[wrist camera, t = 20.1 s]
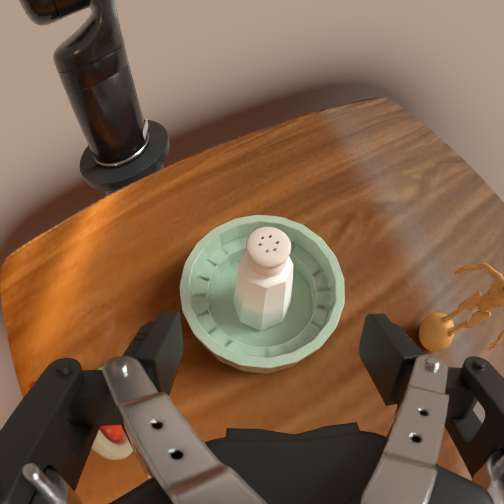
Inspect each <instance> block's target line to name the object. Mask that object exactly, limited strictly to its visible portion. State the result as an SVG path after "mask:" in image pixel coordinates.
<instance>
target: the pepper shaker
mask: <svg viewBox="0 0 504 504" xmlns="http://www.w3.org/2000/svg"><path fill="white" fill-rule="evenodd" d="M290 252H291V242H290V240H289V238H288V236H287V235H286V234H285V233H284V232H282V231H281V230H279V229H277V228H274V227H262V228H258V229H256V230H255V231H253V232H252V233H251V234H250V235H249V236H248V238H247V240H246V251H245V253H244V255H243V257H242V259H241V261H240V263H239V266H238V272H237V279H236V285H235V291H234V298H233V304H234V306H235V309H236V312H237V315H238V317H239V320H240V322H242V323H244V324H246V325H248V326H251V327H253V328H255V329H257V330H260V331H263V330H265V329H268V328H271V327H274V326H276V325H279V324H282V323H283V320H284V318H285V316H286V313H287V311H288V309H289V306H290V304H291V293H292V281H293V263H292V261H291V259H290V257H289V255H290Z"/></svg>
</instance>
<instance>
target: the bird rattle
mask: <svg viewBox="0 0 504 504" xmlns="http://www.w3.org/2000/svg"><path fill="white" fill-rule="evenodd" d="M97 370H102V367H100V368H98V369H97ZM35 382H36V381H34V382H32V383H31V384H30V389H31V387H32V386H33V385H34V384H35ZM92 449H93V450H94V451H95V452H96V453H98V454H99V455H101V456H102V457H104V458H107V459H110V460H119V459H123V458H126V457H128V456H129V455H130V454H131V453H132V451H133V449H132V447H131V445H130V443H129V441H128V439H127V437H126V435H125V433H124V431H123V429H122V427H121V425H111V426H100V429H99V431H98V433H97V436H96V438H95V441H94V443H93V445H92Z"/></svg>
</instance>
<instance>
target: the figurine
mask: <svg viewBox="0 0 504 504" xmlns="http://www.w3.org/2000/svg"><path fill="white" fill-rule="evenodd" d="M482 268H484V269H485V270H486V271H487V272H488V273H489V274H490V275H491V276H492V277H493V278H494V283H493V284H492V286H491V287H490V289H489V290H488V292H487V293H486V294H485V295H484V296H483V297H482V296H481V295H482V293H481V292H480V291H477V292H476V293H475V294H474V295H473V296H472V297H470V298H468V299H466V300H465V301H464V302H463V303H461V304H460V305H459V306H458V308H457V310H456V311H454V312H453V313H451V314H449V315H446V314H444V313H433V314H430V315H428V316H427V317H426V318H425V319H424V320H423V321H422V323H421V325H420V328H419V339H420V342H421V344H422V345H423V346H424V347H425V348H426V349H428V350H430V351H441V350H443V349H445V348H446V347H447V346H448V345H449V344H450V343H451V341H452V339H453V337H454V333H455V332H456V331H458V330H460V329H461V328H463V327H464V326H465V327H466V328H471V327H473V326H475V325H477V324H479V323H480V322H481V321H482V320H484V319H487V318H489V317H490V315H491V313H490V312H489V311H488V309H490V308H492V307H501V306H504V277H503V276H502V274H501V273H499V272H497V271H495V270H494V269H493V268H492V267H491V266H490V265H488V264H486V263H481V264H478V265H470V266H466V267H462V268H459V269H458V270H457V271H456V272H455V273H456V274H458V273H460V272H461V273H462V272H463V271H464V270H467V271H472V270H476V269H482ZM461 273H460V274H461ZM456 274H455V275H456ZM460 274H459V275H460ZM476 305H478V309H479V310H480V311H478V312H475V313H474V314H473V315H472V317H471V319H470V320H469V321H468V320H466V321H465V322H463V323H461V324H459V325H457V326H455V327H454V324H453V321H452V320H451V319H452V318H454V317H455V316H457V315H458V314H459V313H462V312H463V311H464V310H465V309H467V310H470V309H473V308H474V307H475V306H476ZM503 337H504V330H503V331H502V332H501V333H500V335H499V337H498V339H497V341H496V342H495V343H491V344H490V345H491V346H490V347H488V348H489V349H488V348H487V349H488V350H490V349H492V348H494V347H495V346H496V345H497V344H498V343H499V342H500V341H501V340H502V338H503Z"/></svg>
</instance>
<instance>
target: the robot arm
mask: <svg viewBox="0 0 504 504" xmlns="http://www.w3.org/2000/svg"><path fill="white" fill-rule="evenodd" d="M19 1H20V3H21V5H22V7H23V9H24V10H25V12H26V14H27V15H28V17H29V18H30V19H31V21H32V22H34V23H35V24H37V25H41V26H43V25H47V24H50V23H53V22H56V21H58V20H60V19H62V18H65V17H67V16H69V15H71V14H73V13H76V12H78V11H81V10H83V9H86V8H88V7H90V8H91V14H90V16H89V18H88V19H87V20H86V22H85V23H84V24H83V25H82V26H81V27H80V28H79V29H78V30H77V31H76V32H75V33H74V34H72V35H71V36H70V37H69V38H68V39H67V40H65V41H64V42H63V43H62V44H61V45H60V46H59V47H58V48H57V49H56V50H55V52H54V55H53V57H54V63H55V65H56V68H57V70H58V73H59V75H60V79H61V81H62V84H63V86H64V89H65V91H66V94H67V96H68V99H69V101H70V104H71V106H72V108H73V111H74V113H75V115H76V118H77V120H78V122H79V125H80V127H81V129H82V132H83V134H84V136H85V138H86V140H87V143H88V145H89V147H90V149H91V151H92V154H93V157H94V159H95V161H96V163H97V165H99V166H100V167H102V168H106V169H113V168H119V167H122V166H125V165H127V164H129V163H131V162H133V161H135V160H136V159H137V158H139V157H140V156H141V155H142V154H143V153H144V152H145V151H146V149H147V148H148V146H149V143H150V138H149V134H148V131H147V129H148V122H147V119H146V121H145V123H144V119H143V115H142V112H141V108H140V104H139V101H138V97H137V93H136V90H135V86H134V82H133V78H132V74H131V70H130V66H129V62H128V58H127V54H126V50H125V45H124V40H123V36H122V32H121V28H120V24H119V19H118V14H117V9H116V2H115V0H19ZM359 354H360V358H361V360H362V362H363V363H364V365H365V367H366V369H367V371H368V373H369V374H370V376H371V378H372V380H373V382H374V384H375V386H376V388H377V389H378V391H379V393H380V395H381V397H382V399H383V401H384V403H385V405H386V406H387V405H393V404H397V405H398V407H397V409H396V412H395V414H394V417H393V419H392V421H391V424H390V426H389V429H388V431H387V433H386V435H385V436H382V435H379V434H376V433H372V432H366V431H360V430H359V427H358V425H357V422H356V423H348V424H340V425H331V426H325V427H321V428H318V429H314V430H311V431H307V432H303V433H300V434H287V433H281V432H274V431H268V430H263V429H235V428H227V431H226V437H224V438H218V439H214V440H210V441H207V442H205V443H204V442H203V441H202V440H201V438H200V437H199V436H198V435H197V433H196V432H195V431H194V430H193V428H192V427H191V426H190V425H189V423H188V422H187V421H186V419H185V418H184V417H183V416H182V414H181V413H180V412H179V410H178V409H177V407H176V406H175V405H174V403H173V402H172V401H171V399H170V398H169V394H170V391H171V388H172V385H173V382H174V379H175V376H176V373H177V371H178V368H179V365H180V362H181V359H182V355H183V338H182V327H181V316H180V313H179V312H169V311H162V312H161V313H160V315H159V316H158V318H157V320H156V321H155V322H153V321H149V322H148V323H146V324H145V325H143V326H142V327H141V328H140V330H139V331H138V333H137V335H136V336H135V337H134V340H132V342H131V343H130V345H129V346H128V348H127V350H126V351H125V353H124V354H123V356H119V357H114V358H112V359H110V360H108V361H107V362H105V364H104V365H103V367H102V370H82V368H81V364H80V363H79V362H78V361H77V360H75V359H72V358H62V359H58V360H55V361H54V362H52V363H51V364H50V365H49V366H48V367H47V368H46V369H45V371H44V372H43V373H42V374H41V376H40V377H39V378H38V380H37V381H36V382H35V384H34V385H33V386H32V387H31V389H30V390H29V391H28V393H27V394H26V395H25V397H24V398H23V400H22V401H21V402H20V404H19V405H18V406H17V408H16V409H15V411H14V412H13V414H12V415H11V416H10V418H9V419H8V421H7V422H6V423H5V425H4V427H3V428H2V429H1V431H0V504H82V502H81V500H80V498H79V496H78V495H77V494H76V493H75V489H76V487H77V484H78V481H79V479H80V476H81V473H82V471H83V468H84V466H85V463H86V460H87V458H88V455H89V453H90V450H91V448H92V445H93V443H94V441H95V438H96V436H97V433H98V431H99V429H100V426H111V425H121V427H122V429H123V431H124V433H125V435H126V437H127V439H128V441H129V443H130V445H131V447H132V449H133V451H134V453H135V455H136V457H137V459H138V461H139V463H140V465H141V467H142V469H143V471H144V472H145V474H146V476H147V478H148V480H147V481H145V482H144V483H142V484H141V485H139V486H138V487H136V488H134V489H133V490H131V491H130V492H128V493H126V494H125V495H123V496H121V497H120V498H118V499H116V500H115V501H113V502H111V503H109V504H504V378H503V377H502V376H501V375H500V374H499V373H498V372H497V370H496V369H495V368H494V367H493V366H492V365H491V364H490V363H489V362H488V361H486V360H485V359H483V358H480V357H468V358H467V359H466V360H465V361H464V364H463V366H462V368H450V367H448V365H447V363H446V362H445V361H444V360H443V359H442V358H440V357H438V356H435V355H431V354H424V353H423V352H422V351H421V349H420V348H419V347H418V346H417V345H416V344H415V342H414V341H412V339H411V338H410V337H409V336H408V334H407V333H406V332H405V331H404V330H403V329H402V328H401V327H399V326H397V325H396V324H394V323H393V324H392V322H391V321H390V320H389V319H388V318H387V317H386V315H385V314H368V315H367V316H366V318H365V322H364V327H363V331H362V336H361V340H360V345H359ZM477 401H479V403H480V404H481V405H482V407H483V408H484V410H485V420H484V422H483V423H481V422H480V420H479V419H478V417H477V416H476V414H475V413H474V411H473V408H474V407H475V405H476V403H477ZM444 426H445V427H446V429H447V431H448V433H449V434H450V436H451V438H452V440H453V442H454V444H455V445H456V447H457V449H458V451H459V453H460V455H461V457H462V459H463V461H464V463H465V465H466V467H467V469H468V471H469V473H470V475H471V477H472V481H470V480H468V479H466V478H464V477H462V476H459V475H457V474H455V473H453V472H451V471H449V470H447V469H445V468H443V467H441V466H439V465H437V464H436V462H437V458H438V454H439V450H440V445H441V441H442V436H443V431H444Z"/></svg>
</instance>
